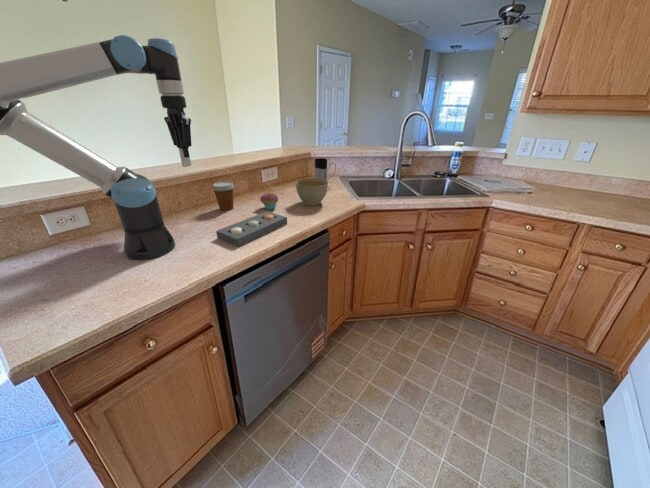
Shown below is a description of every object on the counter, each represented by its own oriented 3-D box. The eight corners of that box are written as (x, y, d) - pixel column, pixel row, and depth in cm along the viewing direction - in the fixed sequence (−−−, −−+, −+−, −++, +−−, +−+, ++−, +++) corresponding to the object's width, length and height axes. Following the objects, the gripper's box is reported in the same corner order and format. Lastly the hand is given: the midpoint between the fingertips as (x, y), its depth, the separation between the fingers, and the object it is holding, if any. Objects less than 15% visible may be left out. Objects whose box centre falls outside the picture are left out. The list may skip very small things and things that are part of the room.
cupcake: (282, 207, 138) (281, 183, 133) (268, 212, 133) (266, 187, 127) (271, 203, 143) (269, 180, 138) (257, 207, 138) (254, 183, 132)
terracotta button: (269, 226, 118) (268, 218, 116) (262, 224, 120) (261, 216, 118) (276, 223, 121) (275, 215, 119) (269, 221, 123) (268, 213, 121)
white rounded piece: (236, 241, 105) (235, 232, 104) (229, 238, 107) (228, 229, 106) (245, 237, 108) (244, 228, 107) (238, 234, 110) (236, 226, 109)
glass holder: (317, 181, 183) (317, 157, 176) (338, 184, 178) (338, 159, 171) (311, 184, 176) (311, 160, 169) (332, 187, 171) (333, 162, 164)
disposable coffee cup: (230, 212, 132) (227, 187, 126) (212, 211, 133) (207, 186, 128) (240, 206, 140) (237, 182, 134) (222, 204, 142) (218, 180, 136)
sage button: (254, 233, 111) (253, 225, 110) (247, 230, 114) (246, 222, 112) (261, 229, 114) (260, 221, 113) (254, 227, 116) (253, 219, 115)
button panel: (238, 246, 101) (237, 239, 100) (217, 238, 107) (216, 230, 106) (287, 223, 121) (286, 217, 119) (267, 217, 127) (266, 211, 125)
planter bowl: (302, 210, 136) (302, 187, 131) (292, 200, 149) (291, 179, 144) (333, 205, 142) (333, 184, 137) (320, 196, 155) (320, 176, 150)
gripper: (193, 95, 95) (206, 166, 106) (172, 95, 102) (186, 162, 113) (172, 95, 90) (187, 170, 101) (151, 95, 97) (167, 165, 107)
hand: (186, 166), depth 107 cm, fingers closed
